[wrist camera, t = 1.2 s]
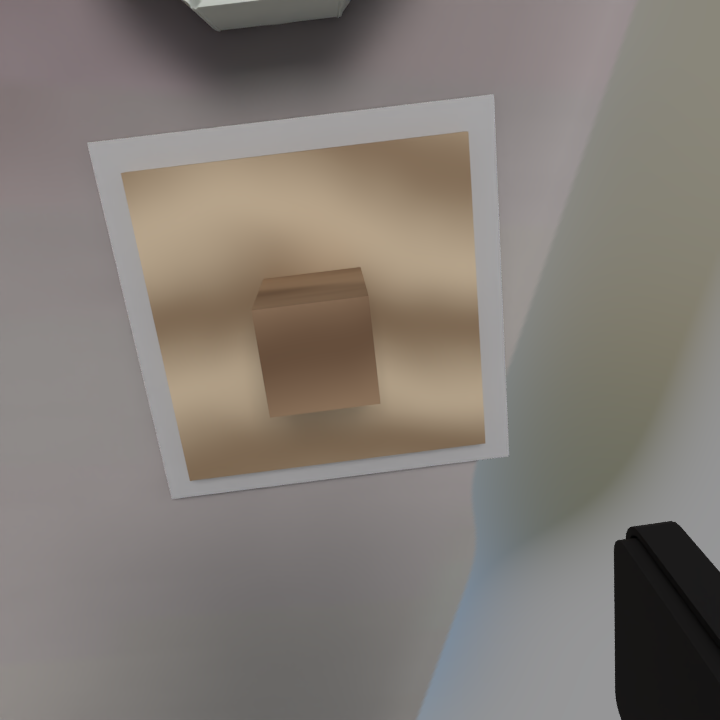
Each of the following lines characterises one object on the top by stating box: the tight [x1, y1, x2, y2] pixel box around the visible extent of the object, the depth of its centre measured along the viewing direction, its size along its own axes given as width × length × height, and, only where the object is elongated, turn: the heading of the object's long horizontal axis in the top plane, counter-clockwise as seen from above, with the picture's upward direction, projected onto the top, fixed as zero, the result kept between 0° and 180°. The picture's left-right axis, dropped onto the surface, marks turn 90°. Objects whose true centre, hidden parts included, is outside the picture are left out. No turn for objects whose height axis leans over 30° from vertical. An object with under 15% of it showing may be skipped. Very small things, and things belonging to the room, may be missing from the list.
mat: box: [87, 94, 509, 499], centre depth 29 cm, size 16×16×1 cm
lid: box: [121, 131, 485, 481], centre depth 26 cm, size 14×14×6 cm
